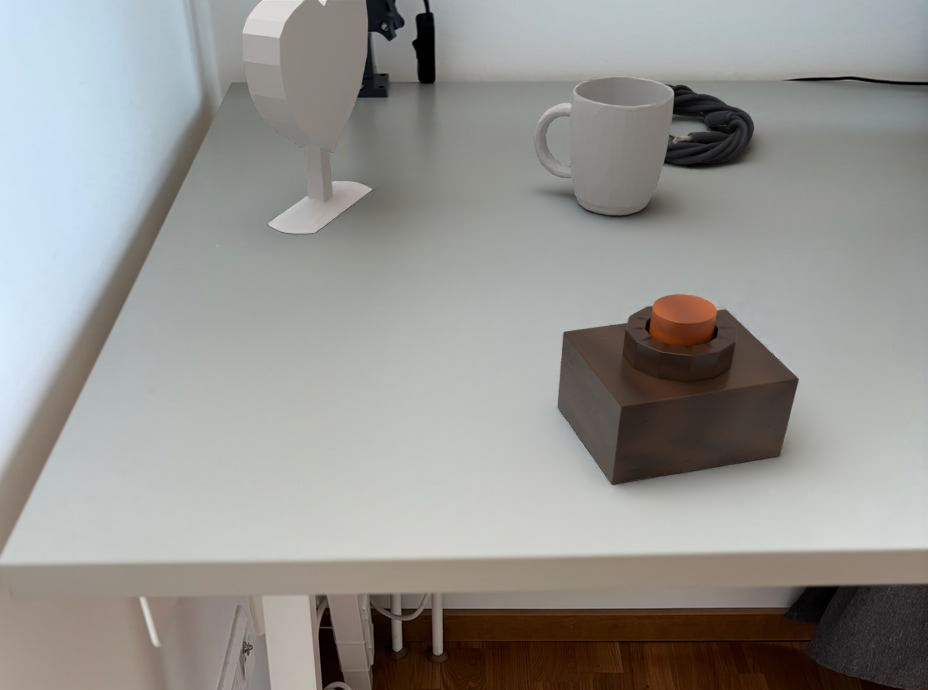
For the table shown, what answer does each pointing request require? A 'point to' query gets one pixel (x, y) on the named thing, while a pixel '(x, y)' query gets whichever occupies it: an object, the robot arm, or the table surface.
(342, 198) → the heart sculpture
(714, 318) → the button
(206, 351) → the table surface
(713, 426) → the control block
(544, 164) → the mug
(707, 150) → the cable
